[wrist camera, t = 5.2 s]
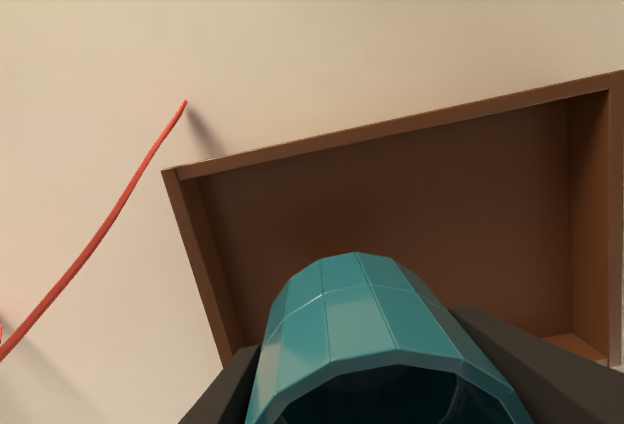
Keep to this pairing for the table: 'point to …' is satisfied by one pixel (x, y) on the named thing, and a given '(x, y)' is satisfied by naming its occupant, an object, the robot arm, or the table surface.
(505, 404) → the teal hollow cylinder
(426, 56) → the table surface
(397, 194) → the tray
